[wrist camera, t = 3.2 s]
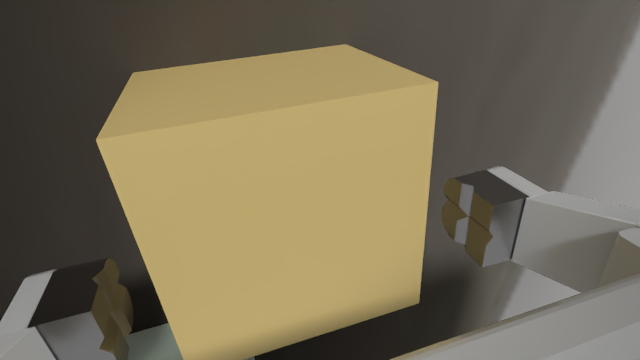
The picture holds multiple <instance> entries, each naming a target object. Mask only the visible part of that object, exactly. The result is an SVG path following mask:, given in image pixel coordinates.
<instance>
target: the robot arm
mask: <svg viewBox="0 0 640 360" xmlns="http://www.w3.org/2000/svg"><path fill="white" fill-rule="evenodd" d="M444 194H445V196H446V197H447V198H448V200H447V202H446V203H445V205H444V206H443V208H442V221H443V225H444V228H445V230H446V232H447V233H448V235H449V236H450V237H451V238H452V239H453V240H454V241H457V242H459V243H462V244H465V251H466V252H467V253H468V254H469V255H470V256H471V257H472V258H473V259H474V260H475V261H476V262H477V263H478V264H479V265H480V266H481V267H485V266H489V265H493V264H497V263H500V262H504V261H508V260H511V259H512V261H513V262H515V263H517V264H519V265H521V266H524V267H526V268H528V269H530V270H532V271H535V272H537V273H539V274H541V275H543V276H546V277H548V278H550V279H553V280H554V281H557V282H559V283H561V284H563V285H565V286H568V287H570V288H572V289H574V290H577V291H579V292H581V293H580V294H577V295H574V296H571V297H569V298H566V299H563V300H560V301H557V302H554V303H551V304H548V305H545V306H543V307H540V308H537V309H534V310H531V311H528V312H525V313H523V314H520V315H517V316H514V317H511V318H508V319H505V320H502V321H499V322H496V323H494V324H491V325H488V326H485V327H482V328H479V329H476V330H473V331H470V332H468V333H465V334H462V335H459V336H456V337H453V338H450V339H447V340H445V341H442V342H439V343H436V344H433V345H430V346H427V347H424V348H421V349H419V350H416V351H413V352H410V353H407V354H404V355H401V356H398V357H396V358H393V359H390V360H640V209H636V208H632V207H627V206H622V205H617V204H612V203H608V202H603V201H598V200H593V199H589V198H583V197H579V196H574V195H570V194H564V193H560V192H555V191H552V192H547V191H545V190H543V189H542V188H540V187H538V186H536V185H535V184H533V183H531V182H529V181H528V180H526V179H524V178H522V177H521V176H519V175H517V174H515V173H514V172H512V171H510V170H508V169H507V168H505V167H501V166H496V167H492V168H489V169H485V170H481V171H479V172H475V173H471V174H467V175H463V176H459V177H455V178H451V179H448V180H447V182H446V184H445V188H444ZM119 274H120V272H119V270H118V268H117V266H116V263H115V261H114V260H112V259H111V258H106V259H101V260H96V261H92V262H87V263H82V264H78V265H73V266H68V267H64V268H59V269H54V270H50V271H46V272H41V273H37V274H33V275H30V276H28V277H26V278H25V279H24V280H23V282H22V284H21V286H20V288H19V289H18V291H17V293H16V295H15V296H14V298H13V300H12V302H11V304H10V305H9V307H8V309H7V311H6V312H5V314H4V316H3V318H2V320H1V321H0V360H127V358H128V352H129V346H128V344H127V342H126V340H125V338H126V337H127V336H128V335H129V333H130V332H131V331H132V327H133V320H134V319H133V305H132V302H131V298H130V295H129V292H128V290H127V288H126V287H124V286H122V285H120V284H119V283H117V282H118V278H119Z"/></svg>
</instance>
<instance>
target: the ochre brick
mask: <svg viewBox="0 0 640 360" xmlns="http://www.w3.org/2000/svg"><path fill="white" fill-rule="evenodd" d="M437 92H438V82H437V81H434V80H432V79H430V78H427V77H425V76H422V75H420V74H417V73H415V72H412V71H410V70H408V69H405V68H403V67H400V66H398V65H395V64H393V63H390V62H388V61H385V60H383V59H381V58H378V57H376V56H373V55H371V54H368V53H366V52H363V51H361V50H359V49H356V48H354V47H351V46H349V45H346V44H345V45H337V46H330V47H322V48H315V49H307V50H300V51H292V52H285V53H277V54H270V55H262V56H255V57H247V58H240V59H232V60H225V61H217V62H210V63H202V64H195V65H187V66H180V67H172V68H165V69H157V70H149V71H142V72H134V73H133V74H132V75H131V77H130V79H129V81H128V83H127V84H126V86H125V88H124V90H123V92H122V93H121V95H120V97H119V99H118V101H117V102H116V104H115V106H114V108H113V110H112V112H111V113H110V115H109V117H108V119H107V121H106V122H105V124H104V126H103V128H102V130H101V131H100V133H99V135H98V137H97V139H96V142H97V144H98V147H99V149H100V152H101V154H102V157H103V159H104V162H105V164H106V167H107V169H108V172H109V174H110V177H111V179H112V182H113V184H114V187H115V189H116V192H117V194H118V197H119V199H120V202H121V204H122V207H123V209H124V212H125V214H126V217H127V219H128V222H129V224H130V227H131V229H132V232H133V234H134V237H135V239H136V242H137V244H138V247H139V249H140V252H141V254H142V257H143V259H144V262H145V264H146V267H147V269H148V272H149V274H150V277H151V279H152V282H153V284H154V287H155V289H156V292H157V294H158V297H159V299H160V302H161V304H162V307H163V309H164V312H165V314H166V317H167V319H168V322H169V324H170V327H171V329H172V332H173V334H174V337H175V339H176V342H177V344H178V347H179V349H180V352H181V354H182V357H183V359H184V360H244V359H247V358H250V357H253V356H256V355H259V354H263V353H266V352H269V351H272V350H275V349H278V348H281V347H284V346H287V345H291V344H294V343H297V342H300V341H303V340H306V339H309V338H312V337H316V336H319V335H322V334H325V333H328V332H331V331H334V330H337V329H340V328H344V327H347V326H350V325H353V324H356V323H359V322H362V321H365V320H368V319H372V318H375V317H378V316H381V315H384V314H387V313H390V312H393V311H396V310H400V309H403V308H406V307H409V306H412V305H415V304H418V303H419V299H420V287H421V276H422V264H423V253H424V241H425V230H426V218H427V207H428V195H429V184H430V172H431V161H432V149H433V138H434V127H435V115H436V104H437Z"/></svg>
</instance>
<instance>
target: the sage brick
mask: <svg viewBox="0 0 640 360" xmlns="http://www.w3.org/2000/svg"><path fill="white" fill-rule="evenodd" d="M125 340H126V342H127V344H128V346H129V352H128V358H127V360H184V359H183V357H182V354H181V352H180V349H179V347H178V344H177V342H176V339H175V337H174V334H173V332H172V329H171V327H170V324H169V323H167V324H163V325H160V326H156V327H153V328H149V329H146V330H143V331H139V332H136V333H132V334H129V335H128V336H127V337H126V338H125ZM244 360H255V358H254V356H253V357H250V358H247V359H244Z"/></svg>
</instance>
